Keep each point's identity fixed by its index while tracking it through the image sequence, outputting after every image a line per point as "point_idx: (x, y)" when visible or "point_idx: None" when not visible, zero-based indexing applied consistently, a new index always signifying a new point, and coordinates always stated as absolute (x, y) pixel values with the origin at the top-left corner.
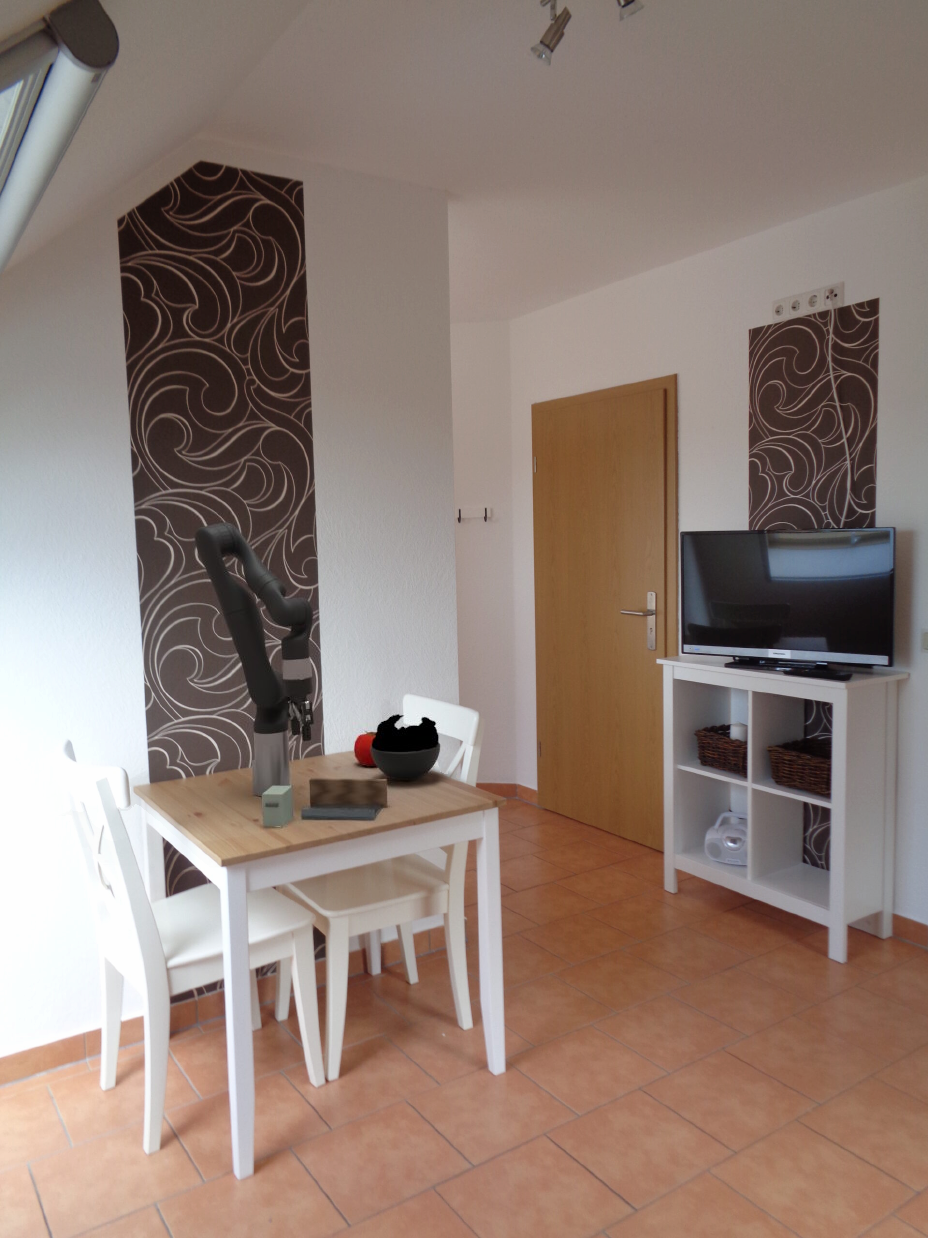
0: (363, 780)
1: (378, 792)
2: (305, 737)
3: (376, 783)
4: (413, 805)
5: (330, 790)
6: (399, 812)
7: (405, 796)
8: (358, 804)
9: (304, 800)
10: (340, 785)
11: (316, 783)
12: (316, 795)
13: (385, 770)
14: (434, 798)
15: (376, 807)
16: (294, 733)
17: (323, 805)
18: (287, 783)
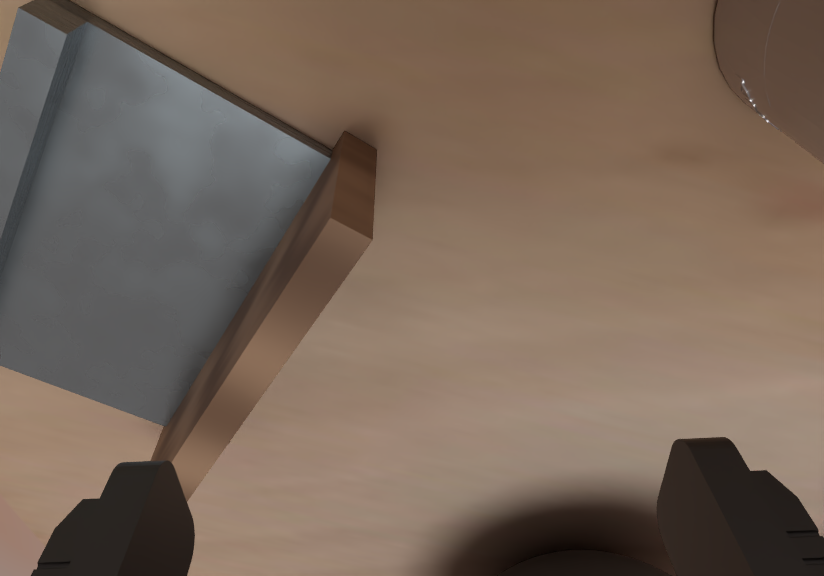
0: None
1: None
2: (56, 533)
3: None
4: None
5: (267, 289)
6: (70, 444)
7: (316, 516)
8: (206, 349)
9: (510, 139)
10: (232, 357)
11: (306, 246)
12: (316, 199)
13: (539, 572)
14: (239, 570)
15: (119, 396)
16: (685, 477)
17: (260, 197)
18: (762, 110)
